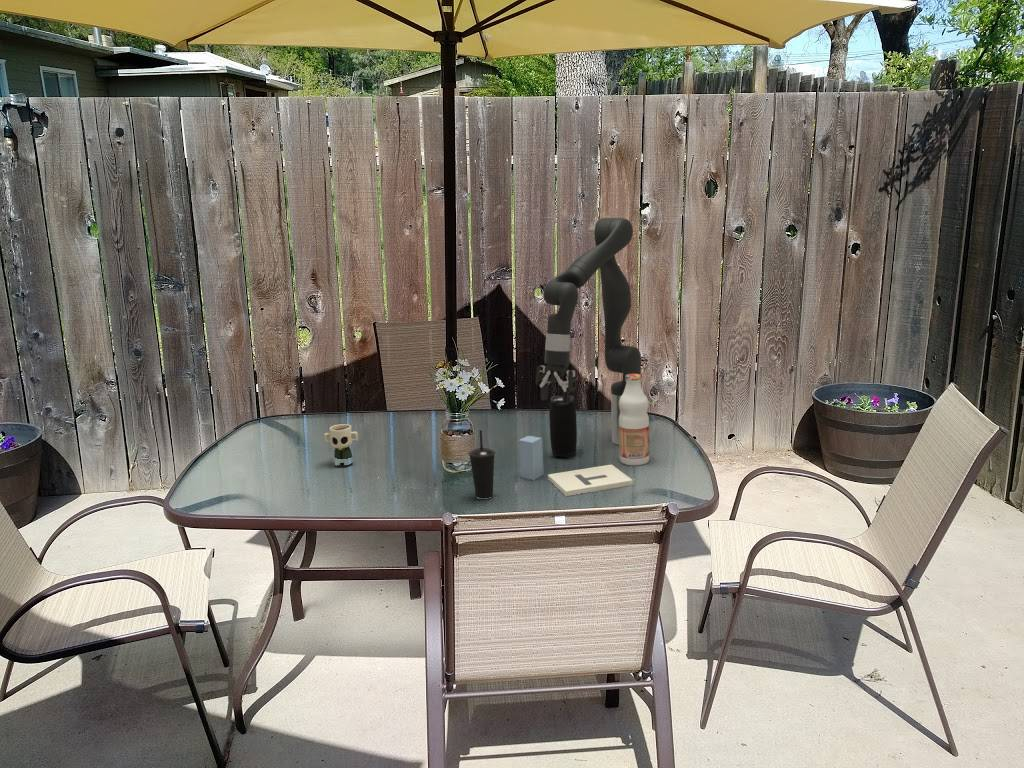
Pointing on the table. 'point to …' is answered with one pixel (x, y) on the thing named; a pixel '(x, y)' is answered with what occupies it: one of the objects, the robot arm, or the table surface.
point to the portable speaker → (563, 427)
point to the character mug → (341, 440)
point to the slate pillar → (531, 457)
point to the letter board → (589, 480)
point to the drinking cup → (482, 469)
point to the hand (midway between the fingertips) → (554, 401)
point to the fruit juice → (633, 423)
